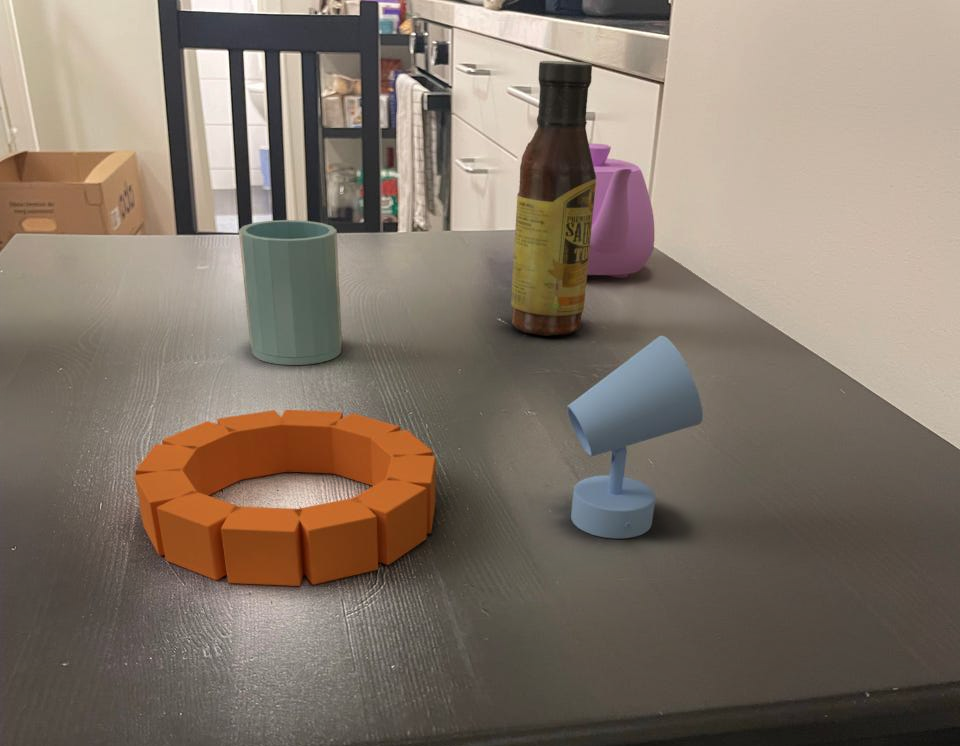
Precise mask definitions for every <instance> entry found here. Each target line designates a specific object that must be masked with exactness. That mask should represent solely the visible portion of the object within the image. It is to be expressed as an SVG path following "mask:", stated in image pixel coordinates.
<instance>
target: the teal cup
mask: <svg viewBox="0 0 960 746" xmlns="http://www.w3.org/2000/svg"><path fill="white" fill-rule="evenodd" d="M238 237H239V247H240V257H241V266H242V267H241V268H242V278H243V289H244V296H245V297H244V298H245V307H246V317H247V327H248V328H247V329H248V337H249V345H250V348H251V349H250V351H251V355H252V356H253V357H254V358H256V359H257V360H259V361H262V362H266V363H270V364H275V365H283V366H307V365H315V364H320V363H324V362H329V361H331V360H334V359H336V358H337V357H339V355H340V354H341V353H342V343H343V338H342V337H343V336H342V316H341V294H340V293H341V291H340V273H339V272H340V271H339V252H338V251H339V250H338V231H337V229H336V228H335V227H334V226H333V225H330V224H327V223H323V222H317V221H310V220H298V219H297V220H295V219H281V220H280V219H279V220H276V219H275V220H265V221H257V222H256V221H255V222H252V223H248V224H245V225H242V226H241V228H239V229H238Z"/></svg>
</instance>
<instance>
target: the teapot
mask: <svg viewBox="0 0 960 746" xmlns="http://www.w3.org/2000/svg"><path fill="white" fill-rule="evenodd" d="M611 147H612V146H610V145H608V144H604V143H589V148H590V152H591V157H592V161H593V166H594V170H595V175H596V187H595V197H594V207H593V218H592V229H591V239H590V250H589V260H588V270H587V276H608V277H612V278H619V279H621V278H627V277H629V274H635V273H638V272H640V271H641V270H642V269H643V267H644V266H645V265H646V264H647V262H649V259H650V258H651V256H652V254H653V252H654V247H655V218H654V211H653V206H652V202H651V198H650V195H649V191H648V188H647V184H646V180H645V177H644V175H643V172H642V170H641V168H640V167H639V166H638V165H636V164H634V163H632V162H629V161H626V160H621V159H616V158H608V157H609V154H610V152H611Z"/></svg>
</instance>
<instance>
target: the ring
mask: <svg viewBox="0 0 960 746" xmlns="http://www.w3.org/2000/svg"><path fill="white" fill-rule="evenodd" d="M216 422H217V423H215V422H212V421H208V420H207V421H204V422H202V423H199V424H197V425H195V426H192V427H190V428H188V429H185V430H182V431H180V432H177V433H175V434H172V435H171V436H168V437H166V438H163V439H162V440H161V443H159V444H158V443H155V444H154V445H153V446H152V448H151V450H150V451H149V452H148V454H146V456H145V457H144V458H143V460H142V461H141V462H140V463H139V465H138V466H137V467H136V469H134V472H135V475H134V481H135V487H136V492H137V499H138V505H139V510H140V515H141V520H142V527H143V529H144V530H145V532H146V534H147V536H148V538H149V540H150V542H151V543H152V545H153V547H154V549H155V551H156V553H157V555H158V556H159V557H162V556H164V558H165V561H166V562H169V563H171V564H173V565H177V566H179V567H181V568H183V569H187V570H189V571H192V572H194V573H197V574H199V575H201V576H204V577H207V578H209V579H211V580H214V581H218V580H220V579H222V578H224V577H225V576H227V577H226V578H227V583H228V584H241V585H268V586H288V587H289V586H290V587H291V586H293V587H299V586H300V585H301V583H302V580H303V577H304V575H305V577H306V578H307V579H308V581H309V582H310V584H311V585H317V584H323V583H326V582H331V581H336V580H340V579H343V578H350V577H353V576H357V575H361V574H366V573H369V572H370V573H371V572H375V571H378V570H379V563H380V564H383V565H386V566H390V565H391V564H393V563H394V562H396V561H397V560H399V559H400V558H401V557H403V556H404V555H406V554H407V553H408V552H410V551H411V550H413V549H414V548H416V547H418V545H420V544H421V543H423V542H424V541H426V540H427V536H428V534H432V531H433V523H434V515H435V509H436V466H437V465H436V463H437V462H436V461H437V460H436V459H437V457H436V456H435V455H434V451H433V450H432V449H431V448H430V447H429V446H428V445H426V444H425V443H423V441H421V440H420V439H419V438H417V436H416V435H414V434H413V433H411V432H410V430H408V429H403V430H401V426H400V425H397V424H393V423H390V422H387V421H382V420H378V419H375V418H372V417H368V416H363V415H360V414H357V413H350V414H348V415H346V416H344V413H343V411H331V410H330V411H329V410H325V411H324V410H307V409H306V410H305V409H304V410H303V409H284V411H283V413H282V414H281V415H280V414H278V412H277V411H276V410H274V409H272V410H266V411H259V412H253V413H245V414H239V415H232V416H226V417H219V418H217V419H216ZM286 472H287V473H288V472H289V473H307V474H308V473H311V474H333V475H337V476H340V477H343V478H346V479H349V480H353V481H356V482H359V483H362V484H365V485H369V486H371V487H370V488H368V489H366V490H364V491H362V492H361V493H358V494H357V495H355V496H354V497H351V498H346V499H340V500H335V501H330V502H325V503H321V504H315V505H309V506H306V507H300V508H290V507H289V508H285V507H263V506H260V507H259V506H242V505H241V506H239V505H236V504H233V503H231V502H227V501H225V500H222V499H219V498H216V497H213V496H210V495H213V494H215V493H217V492H219V491H221V490H223V489H224V488H226V487H228V486H231V485H233V484H236V483H237V482H239V481H242V480H247V479H248V480H249V479H253V478H259V477H265V476H270V475H276V474H282V473H286Z"/></svg>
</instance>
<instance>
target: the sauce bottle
mask: <svg viewBox="0 0 960 746" xmlns="http://www.w3.org/2000/svg"><path fill="white" fill-rule="evenodd" d="M592 73H593V64H592V63H589V62H581V61H563V60H541V61H539V63H538V85H539V100H538V114H537V117H536V124H537V128H536V130H535V132H534V134H533V136H532V138H531V140H530V141H529V142H528V143H527V145H526V147H525V150H524V151H523V154H522V156H521V161H520V165H519V187H518V192H517V196H516V212H515V213H516V214H515V228H514V229H515V231H514V248H513V249H514V250H513V265H512V278H511V279H512V280H511V299H510V300H511V301H510V304H511V307H512V310H511V313H512V314H511V323H512V325H513V327H514V328H515V329H516V330H518V331H519V332H523V333H526V334H530V335H538V336H543V337H550V336H562V335H569V334H572V333H575V332H576V331H577V332H578V330H579V329H580V326H581V323H582V322H581V321H582V315H583V313H584V309H585V301H586V288H587V281H588V280H587V279H588V275H587V270H588V260H589V250H590V239H591V229H592V218H593V207H594V197H595V187H596V175H595V170H594V166H593V161H592V157H591V152H590V148H589V144H590V143H589V139H588V135H587V128H586V127H587V124H588V123H587V108H588V107H587V106H588V96H589V87H590V86H591V83H592V75H593V74H592Z"/></svg>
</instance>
